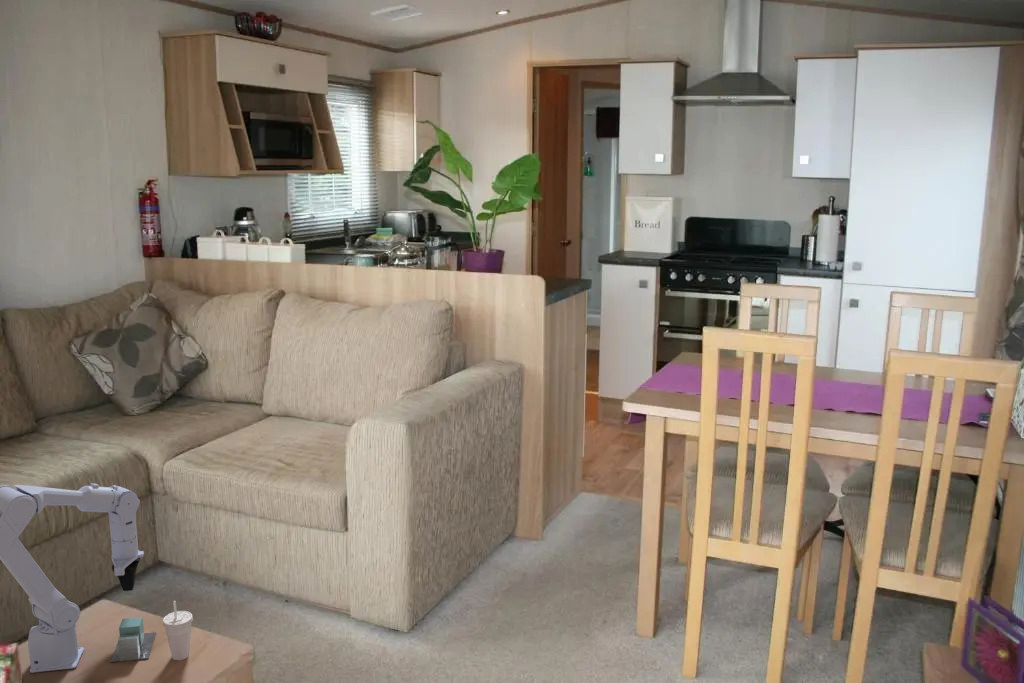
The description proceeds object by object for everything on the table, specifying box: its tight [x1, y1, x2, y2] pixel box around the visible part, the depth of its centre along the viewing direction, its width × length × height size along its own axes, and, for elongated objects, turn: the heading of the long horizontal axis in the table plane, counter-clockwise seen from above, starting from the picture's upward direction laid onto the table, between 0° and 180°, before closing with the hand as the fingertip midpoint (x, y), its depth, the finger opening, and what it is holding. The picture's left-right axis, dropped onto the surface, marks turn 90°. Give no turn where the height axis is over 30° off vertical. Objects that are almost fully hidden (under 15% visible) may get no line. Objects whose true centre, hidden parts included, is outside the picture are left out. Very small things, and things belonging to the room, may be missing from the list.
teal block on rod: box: [118, 616, 145, 646], centre depth 205 cm, size 4×4×5 cm
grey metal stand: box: [110, 631, 157, 663], centre depth 207 cm, size 8×11×6 cm
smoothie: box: [162, 600, 194, 661], centre depth 203 cm, size 6×6×14 cm
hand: (128, 589), depth 213 cm, fingers closed
